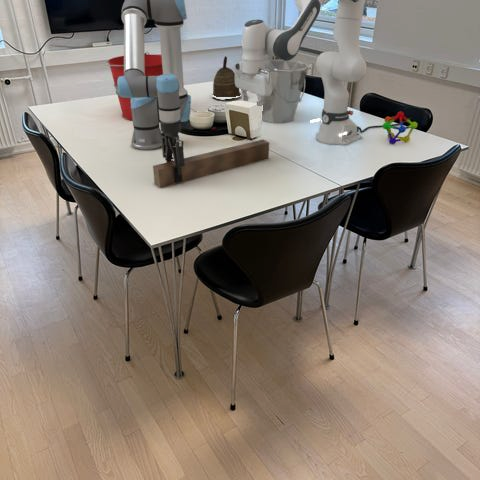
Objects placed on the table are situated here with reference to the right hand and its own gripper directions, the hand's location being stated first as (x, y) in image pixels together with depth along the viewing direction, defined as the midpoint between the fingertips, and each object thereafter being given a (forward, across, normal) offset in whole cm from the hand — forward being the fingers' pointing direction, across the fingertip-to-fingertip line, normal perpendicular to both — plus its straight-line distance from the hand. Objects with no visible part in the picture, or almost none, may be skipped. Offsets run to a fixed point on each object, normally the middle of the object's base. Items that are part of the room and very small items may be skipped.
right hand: (252, 103), depth 178 cm
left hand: (+24, 0, +37) cm, 44 cm away
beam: (+25, 0, +18) cm, 31 cm away
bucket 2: (+25, +42, -49) cm, 69 cm away
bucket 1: (+25, +89, +8) cm, 93 cm away
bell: (+25, +95, -50) cm, 110 cm away
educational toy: (+25, -21, -70) cm, 77 cm away
